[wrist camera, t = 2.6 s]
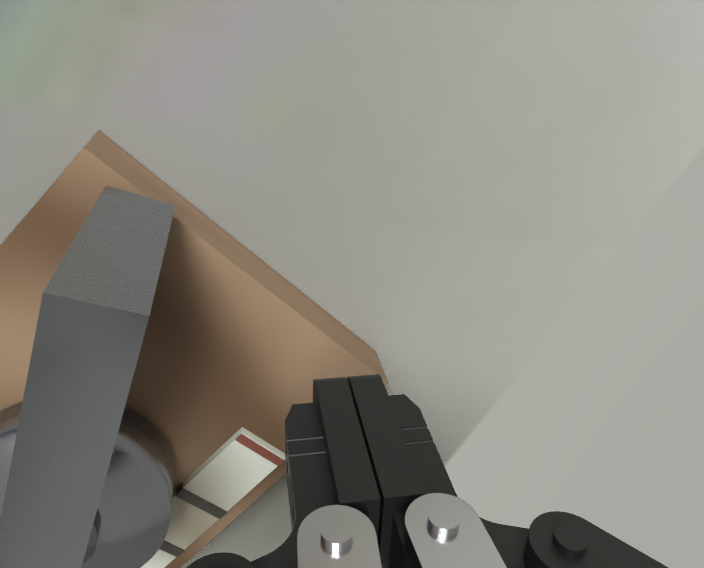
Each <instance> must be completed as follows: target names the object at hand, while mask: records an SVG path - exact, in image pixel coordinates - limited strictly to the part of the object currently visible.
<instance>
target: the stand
mask: <svg viewBox="0 0 704 568" xmlns="http://www.w3.org/2000/svg"><path fill="white" fill-rule="evenodd" d="M105 186H110V187H114V188H117V189H121V190H124V191H128V192H131V193H135V194H139V195H142V196H146V197H149V198H153V199H156V200H160V201H163V202H167V203H171V204H174V205H175V209H174V213H173V218H172V222H171V226H170V231H169V235H168V239H167V243H166V248H165V252H164V256H163V261H162V265H161V269H160V273H159V278H158V282H157V286H156V291H155V295H154V299H153V303H152V308H151V312H150V316H149V320H148V324H147V327H146V331H145V335H144V338H143V342H142V346H141V349H140V353H139V357H138V360H137V364H136V368H135V372H134V375H133V379H132V383H131V386H130V390H129V394H128V397H127V401H126V405H125V407H127V408H130V409H132V410H133V411H135V412H137V413H138V414H140V415H142V416H143V417H145V418H146V419H147V420H148V421H150V422H151V423H152V424H153V425H154V426H155V427H156V428H157V429H158V430H159V431H160V432H161V434H162V435H163V436H164V438H165V439H166V440H167V442H168V444H169V446H170V448H171V451H172V454H173V457H174V463H175V478H174V487H173V496H172V505H171V514H170V524H169V528H168V532H167V535H166V537H165V540H164V542H163V544H162V545H161V547H160V548H159V550H158V551H157V552H156V554H155V555H154V556H153V557H152V558H151V559H150V560H149V561H148V562H147V563H146V564H144V565H143V566H142V567H141V568H180V567H181V566H182V565H184V564H185V563H186V562H187V561H188V560H189V559H190V558H191V557H193V556H194V555H195V554H196V553H197V552H198V551H199V550H200V549H202V548H203V547H204V546H205V545H206V544H207V543H208V542H209V541H211V540H212V539H213V538H214V537H215V536H216V535H217V534H218V533H220V532H221V531H222V530H223V529H224V528H225V527H226V526H227V525H229V524H230V523H231V522H232V521H233V520H234V519H235V518H236V517H238V516H239V515H240V514H241V513H242V512H243V511H244V510H245V509H247V508H248V507H249V506H250V505H251V504H252V503H253V502H254V501H256V500H257V499H258V498H259V497H260V496H261V495H262V494H263V493H265V492H266V491H267V490H268V489H269V488H270V487H271V486H272V485H274V484H275V483H276V482H277V481H278V480H279V479H280V478H281V477H283V476H284V475H285V474H286V449H285V419H286V417H287V415H288V413H289V411H290V409H291V406H292V404H302V403H313V380H314V379H325V378H337V377H346V378H347V377H348V376H360V375H373V374H380V376H381V378H382V380H383V383H384V386H385V385H386V384H387V383H388V382H387V379H386V377H385V374H384V371H383V369H382V366H381V364H380V361H379V359H378V356H377V353H376V351H375V350H374V349H372V348H371V347H370V346H369V345H367V344H366V343H365V342H364V341H362V340H361V339H360V338H359V337H357V336H356V335H355V334H354V333H352V332H351V331H350V330H349V329H347V328H346V327H345V326H344V325H342V324H341V323H340V322H339V321H337V320H336V319H335V318H334V317H332V316H331V315H330V314H329V313H327V312H326V311H325V310H324V309H322V308H321V307H320V306H319V305H317V304H316V303H315V302H314V301H312V300H311V299H310V298H309V297H307V296H306V295H305V294H304V293H302V292H301V291H300V290H299V289H297V288H296V287H295V286H294V285H292V284H291V283H290V282H289V281H287V280H286V279H285V278H284V277H282V276H281V275H280V274H279V273H277V272H276V271H275V270H273V269H272V268H271V267H270V266H268V265H267V264H266V263H265V262H263V261H262V260H261V259H260V258H258V257H257V256H256V255H255V254H253V253H252V252H251V251H250V250H248V249H247V248H246V247H245V246H243V245H242V244H241V243H240V242H238V241H237V240H236V239H235V238H233V237H232V236H231V235H230V234H228V233H227V232H226V231H225V230H223V229H222V228H221V227H220V226H218V225H217V224H216V223H215V222H213V221H212V220H211V219H210V218H208V217H207V216H206V215H205V214H203V213H202V212H201V211H200V210H198V209H197V208H196V207H195V206H193V205H192V204H191V203H190V202H188V201H187V200H186V199H185V198H183V197H182V196H181V195H180V194H178V193H177V192H176V191H175V190H173V189H172V188H171V187H170V186H168V185H167V184H166V183H165V182H163V181H162V180H161V179H160V178H158V177H157V176H156V175H155V174H153V173H152V172H151V171H150V170H148V169H147V168H146V167H145V166H143V165H142V164H141V163H140V162H138V161H137V160H136V159H135V158H133V157H132V156H131V155H130V154H128V153H127V152H126V151H125V150H123V149H122V148H121V147H120V146H118V145H117V144H116V143H115V142H113V141H112V140H111V139H110V138H108V137H107V136H106V135H105V134H103V133H102V132H101V131H100V130H99V131H98V132H97V133H96V134H95V135H94V136H93V138H92V139H91V140H90V141H89V142H88V143H87V145H86V146H85V147H84V148H83V149H82V150H81V152H80V153H79V154H78V155H77V156H76V157H75V159H74V160H73V161H72V162H71V163H70V164H69V166H68V167H67V168H66V169H65V170H64V172H63V173H62V174H61V175H60V176H59V177H58V179H57V180H56V181H55V182H54V183H53V184H52V186H51V187H50V188H49V189H48V190H47V191H46V193H45V194H44V195H43V196H42V197H41V198H40V200H39V201H38V202H37V203H36V204H35V206H34V207H33V208H32V209H31V210H30V211H29V213H28V214H27V215H26V216H25V217H24V218H23V220H22V221H21V222H20V223H19V224H18V225H17V227H16V228H15V229H14V230H13V231H12V232H11V234H10V235H9V236H8V237H7V238H6V239H5V241H4V242H3V243H2V244H1V245H0V411H2V410H3V409H5V408H7V407H9V406H12V405H14V404H16V403H19V402H22V401H23V396H24V391H25V386H26V380H27V375H28V370H29V364H30V359H31V354H32V348H33V343H34V338H35V332H36V327H37V322H38V316H39V311H40V306H41V300H42V295H43V292H44V290H45V288H46V287H47V285H48V283H49V281H50V280H51V278H52V276H53V275H54V273H55V271H56V269H57V268H58V266H59V264H60V263H61V261H62V259H63V258H64V256H65V254H66V252H67V251H68V249H69V247H70V246H71V244H72V242H73V240H74V239H75V237H76V235H77V234H78V232H79V230H80V229H81V227H82V225H83V223H84V222H85V220H86V218H87V217H88V215H89V213H90V211H91V210H92V208H93V206H94V205H95V203H96V201H97V199H98V198H99V196H100V194H101V193H102V191H103V189H104V188H105Z"/></svg>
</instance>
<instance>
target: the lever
mask: <svg viewBox="0 0 704 568" xmlns="http://www.w3.org/2000/svg"><path fill="white" fill-rule="evenodd" d="M174 209H175V205H174V204H171V203H167V202H163V201H160V200H156V199H153V198H149V197H146V196H142V195H139V194H135V193H131V192H128V191H124V190H121V189H117V188H114V187H110V186H105V188H104V189H103V191H102V193H101V194H100V196H99V198H98V199H97V201H96V203H95V205H94V206H93V208H92V210H91V211H90V213H89V215H88V217H87V218H86V220H85V222H84V223H83V225H82V227H81V229H80V230H79V232H78V234H77V235H76V237H75V239H74V240H73V242H72V244H71V246H70V247H69V249H68V251H67V252H66V254H65V256H64V258H63V259H62V261H61V263H60V264H59V266H58V268H57V269H56V271H55V273H54V275H53V276H52V278H51V280H50V281H49V283H48V285H47V287H46V288H45V290H44V292H43V295H42V300H41V306H40V311H39V316H38V322H37V327H36V332H35V338H34V343H33V348H32V354H31V359H30V364H29V370H28V375H27V380H26V386H25V391H24V396H23V401H22V402H19V403H16V404H14V405H12V406H9V407H7V408H5V409H3V410H2V411H0V568H141V567H142V566H143V565H144V564H146V563H147V562H148V561H149V560H150V559H151V558H152V557H153V556H154V555H155V554H156V552H157V551H158V550H159V548H160V547H161V545H162V544H163V542H164V540H165V537H166V535H167V532H168V528H169V524H170V514H171V505H172V496H173V487H174V478H175V463H174V457H173V454H172V451H171V448H170V446H169V444H168V442H167V440H166V439H165V438H164V436H163V435H162V434H161V432H160V431H159V430H158V429H157V428H156V427H155V426H154V425H153V424H152V423H151V422H150V421H148V420H147V419H146V418H145V417H143V416H142V415H140V414H138V413H137V412H135V411H133V410H132V409H130V408H127V407H125V405H126V401H127V397H128V394H129V390H130V386H131V383H132V379H133V375H134V372H135V368H136V364H137V360H138V357H139V353H140V349H141V346H142V342H143V338H144V335H145V331H146V327H147V324H148V320H149V316H150V312H151V308H152V303H153V299H154V295H155V291H156V286H157V282H158V278H159V273H160V269H161V265H162V261H163V256H164V252H165V248H166V243H167V239H168V235H169V231H170V226H171V222H172V218H173V213H174Z"/></svg>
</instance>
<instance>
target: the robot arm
mask: <svg viewBox="0 0 704 568" xmlns="http://www.w3.org/2000/svg"><path fill="white" fill-rule="evenodd" d="M285 449H286V476H287V485H288V494H289V504H290V513H291V522H292V532H291V534H290V536H289V537H288V539H287V540H286V541H285V542H284V543H283V544H282V545H281V546H280V547H279V548H277V549H276V550H274V551H273V552H271V553H269V554H267V555H265V556H263V557H261V558H259V559H256V560H254V561H252V562H250V561H249V560H247V559H245V558H244V557H242V556H239V555H237V554H233V553H214V554H210V555H207V556H204V557H202V558H200V559H198V560H196V561H194V562H193V563H192V564H190V565H189V566H188V567H187V568H668V567H666V566H664V565H663V564H661V563H659V562H658V561H656V560H654V559H652V558H650V557H649V556H647V555H645V554H644V553H642V552H640V551H638V550H637V549H635V548H633V547H632V546H630V545H628V544H626V543H624V542H623V541H621V540H619V539H618V538H616V537H614V536H612V535H611V534H609V533H607V532H605V531H604V530H602V529H600V528H599V527H597V526H595V525H593V524H592V523H590V522H588V521H587V520H585V519H583V518H581V517H579V516H576V515H573V514H570V513H566V512H559V511H558V512H548V513H544V514H542V515H540V516H538V517H537V518H535V519H534V521H533V522H532V524H531V525H530V528H529V529H527V528H521V527H514V526H508V525H502V524H497V523H492V522H490V521H487V520H484V519H482V518H480V517H479V516H478V514H477V513H476V511H475V510H474V509H473V508H472V507H471V506H470V505H469V504H468V503H466V502H465V501H463V500H461V499H460V498H458V497H457V495H456V493H455V490H454V488H453V486H452V483H451V481H450V479H449V476H448V474H447V472H446V469H445V467H444V465H443V462H442V460H441V458H440V455H439V453H438V451H437V448H436V446H435V444H434V443H433V439H432V437H431V434H430V432H429V430H428V429H427V425H426V423H425V420H424V418H423V415H422V413H421V411H420V408H418V407H417V406H416V405H415V404H414V403H413V402H412V401H411V400H410V399H409V398H408V397H407V396H405V395H404V394H403V395H392V396H388V394H387V391H386V389H385V386H384V383H383V380H382V378H381V376H380V374H373V375H360V376H348V377H347V378H346V377H337V378H325V379H314V380H313V403H302V404H292V406H291V409H290V411H289V413H288V415H287V417H286V419H285Z"/></svg>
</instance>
